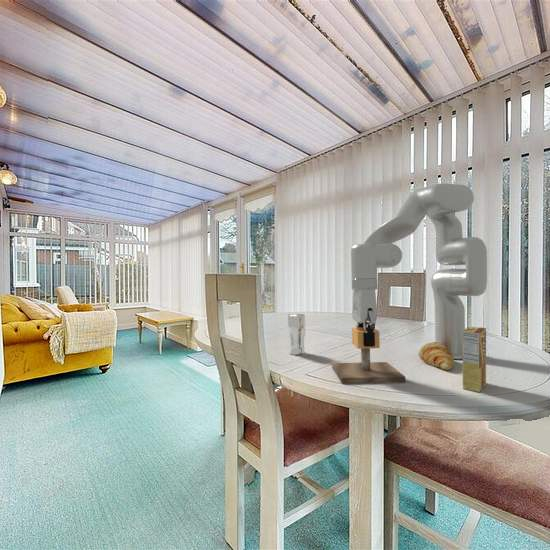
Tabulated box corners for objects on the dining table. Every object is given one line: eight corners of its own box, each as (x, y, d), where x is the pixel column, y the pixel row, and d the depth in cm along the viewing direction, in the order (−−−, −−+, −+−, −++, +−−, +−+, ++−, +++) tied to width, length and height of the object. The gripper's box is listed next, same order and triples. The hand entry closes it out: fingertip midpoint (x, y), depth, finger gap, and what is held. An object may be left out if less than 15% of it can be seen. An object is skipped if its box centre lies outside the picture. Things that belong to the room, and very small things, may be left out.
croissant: (458, 384, 91) (471, 361, 91) (427, 368, 93) (440, 345, 92) (432, 362, 112) (442, 343, 112) (407, 349, 114) (417, 330, 113)
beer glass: (305, 350, 120) (305, 313, 120) (306, 355, 114) (305, 316, 113) (288, 350, 121) (287, 313, 121) (287, 355, 114) (286, 316, 114)
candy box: (469, 379, 85) (468, 326, 85) (487, 383, 82) (486, 327, 82) (462, 389, 79) (461, 330, 79) (481, 393, 76) (480, 332, 76)
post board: (386, 366, 98) (386, 342, 98) (405, 381, 84) (404, 353, 84) (332, 367, 98) (331, 343, 98) (341, 383, 84) (341, 355, 84)
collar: (372, 343, 95) (372, 327, 95) (379, 348, 88) (379, 331, 88) (352, 343, 95) (351, 327, 95) (357, 348, 88) (357, 331, 88)
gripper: (345, 283, 100) (346, 337, 100) (360, 286, 83) (361, 351, 83) (367, 283, 100) (368, 337, 100) (387, 285, 83) (388, 350, 83)
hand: (365, 342), depth 91 cm, fingers closed on collar, 6 cm apart
